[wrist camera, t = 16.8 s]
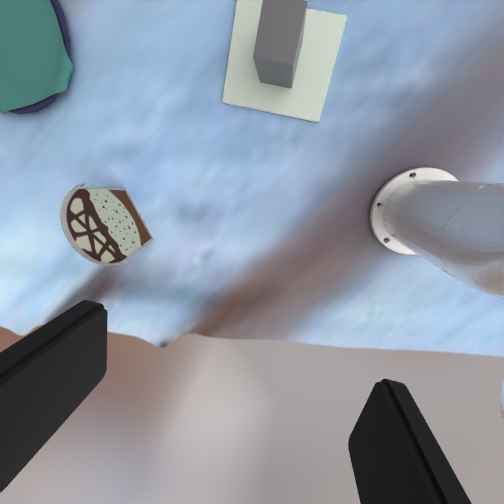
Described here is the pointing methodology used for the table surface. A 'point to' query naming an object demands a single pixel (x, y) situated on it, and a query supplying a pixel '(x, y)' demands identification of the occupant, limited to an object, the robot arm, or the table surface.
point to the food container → (103, 224)
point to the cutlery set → (32, 54)
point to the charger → (279, 41)
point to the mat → (307, 72)
